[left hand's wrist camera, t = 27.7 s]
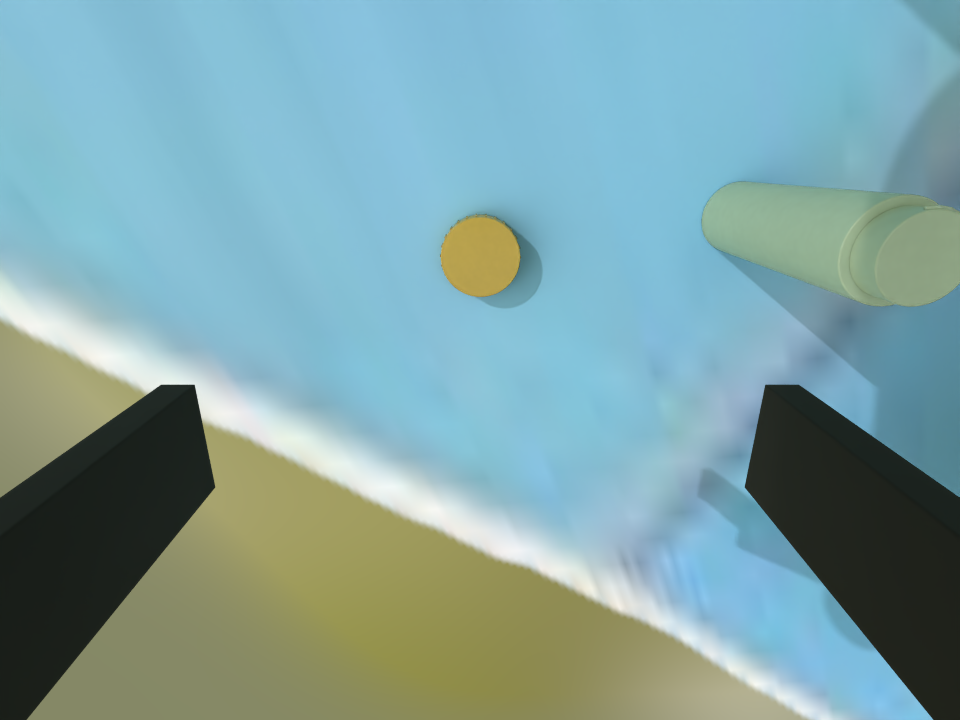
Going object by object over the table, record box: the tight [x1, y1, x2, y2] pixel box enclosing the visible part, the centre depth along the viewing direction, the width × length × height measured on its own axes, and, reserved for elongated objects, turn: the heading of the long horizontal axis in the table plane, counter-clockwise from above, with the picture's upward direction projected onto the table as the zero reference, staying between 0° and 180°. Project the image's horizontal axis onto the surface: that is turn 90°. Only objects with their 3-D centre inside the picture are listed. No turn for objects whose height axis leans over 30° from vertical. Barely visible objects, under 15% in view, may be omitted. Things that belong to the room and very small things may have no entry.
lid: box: [440, 214, 521, 297], centre depth 38 cm, size 6×6×2 cm
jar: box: [702, 182, 960, 307], centre depth 30 cm, size 5×5×17 cm
